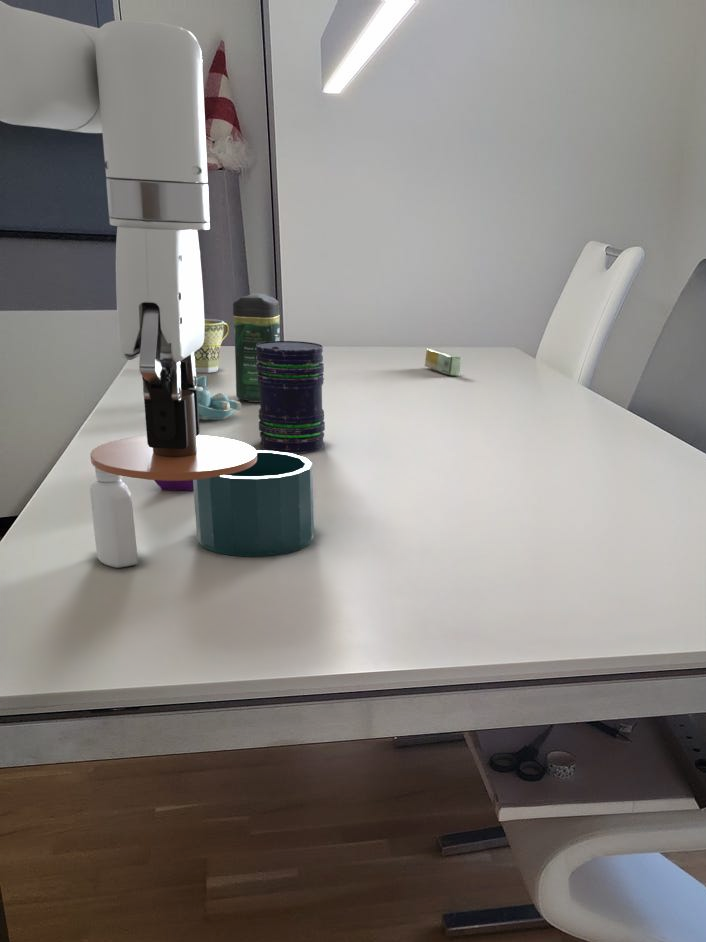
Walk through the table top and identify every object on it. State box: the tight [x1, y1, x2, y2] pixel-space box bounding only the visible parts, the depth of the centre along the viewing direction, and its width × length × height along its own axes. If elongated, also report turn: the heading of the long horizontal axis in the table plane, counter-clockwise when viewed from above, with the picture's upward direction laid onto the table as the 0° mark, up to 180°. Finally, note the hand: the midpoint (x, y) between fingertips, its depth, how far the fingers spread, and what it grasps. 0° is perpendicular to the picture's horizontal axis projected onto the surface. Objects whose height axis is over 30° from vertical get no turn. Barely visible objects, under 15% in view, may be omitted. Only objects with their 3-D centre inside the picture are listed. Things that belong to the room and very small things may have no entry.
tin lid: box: [90, 389, 258, 481], centre depth 87 cm, size 14×14×6 cm
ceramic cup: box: [194, 318, 230, 374], centre depth 218 cm, size 13×10×10 cm
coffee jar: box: [232, 293, 281, 403], centre depth 188 cm, size 10×8×19 cm
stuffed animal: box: [193, 375, 242, 422], centre depth 174 cm, size 11×7×12 cm
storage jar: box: [256, 340, 326, 454], centre depth 155 cm, size 10×10×15 cm
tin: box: [193, 450, 315, 558], centre depth 114 cm, size 13×13×8 cm
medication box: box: [424, 348, 463, 377], centre depth 229 cm, size 12×3×4 cm, turn 31°
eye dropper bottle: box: [89, 466, 139, 569], centre depth 105 cm, size 4×6×12 cm
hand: (174, 439), depth 87 cm, fingers closed on tin lid, 3 cm apart
